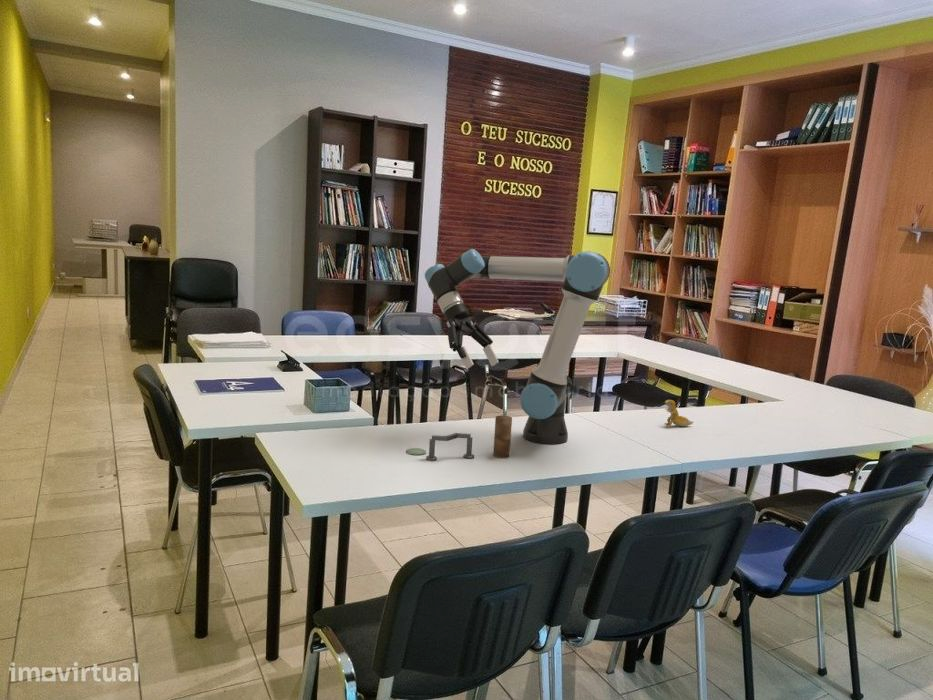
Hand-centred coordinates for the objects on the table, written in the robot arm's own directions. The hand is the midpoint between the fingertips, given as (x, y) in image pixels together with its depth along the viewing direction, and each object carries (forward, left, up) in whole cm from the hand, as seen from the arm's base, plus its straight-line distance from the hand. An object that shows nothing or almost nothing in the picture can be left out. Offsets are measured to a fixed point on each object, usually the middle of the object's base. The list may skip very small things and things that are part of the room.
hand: (483, 365), depth 209 cm
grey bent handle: (+9, +13, -26) cm, 31 cm away
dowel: (-7, +8, -26) cm, 28 cm away
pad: (+19, +9, -26) cm, 34 cm away
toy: (-76, -43, -27) cm, 91 cm away
